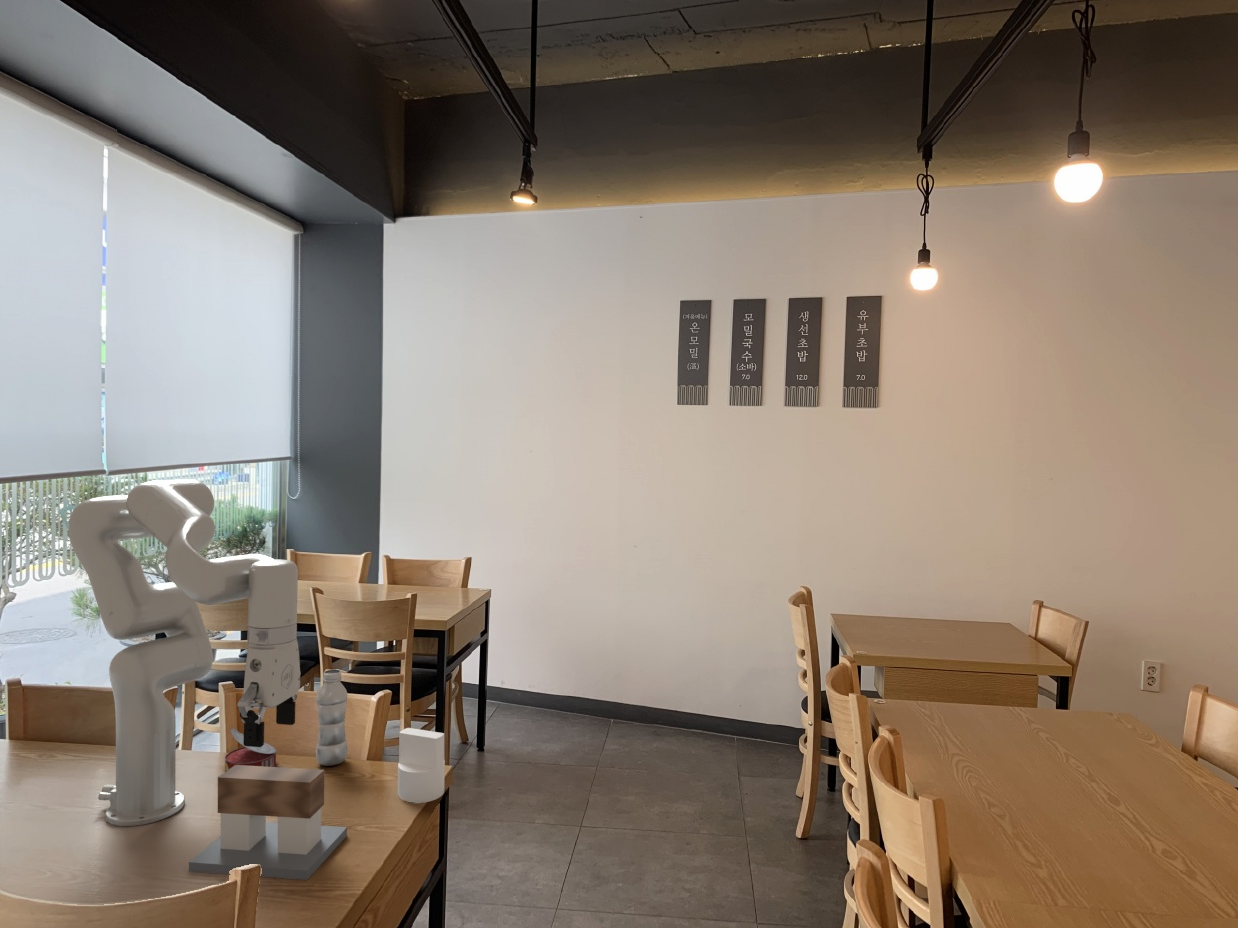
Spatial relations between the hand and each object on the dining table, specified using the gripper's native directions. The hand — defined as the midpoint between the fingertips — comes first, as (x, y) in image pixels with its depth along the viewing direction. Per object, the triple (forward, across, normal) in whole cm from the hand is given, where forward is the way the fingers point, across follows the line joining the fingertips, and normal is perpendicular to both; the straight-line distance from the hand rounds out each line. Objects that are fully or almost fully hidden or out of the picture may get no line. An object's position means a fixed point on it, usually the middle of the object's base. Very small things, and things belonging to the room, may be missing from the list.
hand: (270, 734), depth 129 cm
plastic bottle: (+21, +36, +6) cm, 42 cm away
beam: (+12, 0, -1) cm, 13 cm away
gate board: (+20, 0, -1) cm, 20 cm away
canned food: (+21, +32, +22) cm, 44 cm away
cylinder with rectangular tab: (+20, +25, -18) cm, 36 cm away
